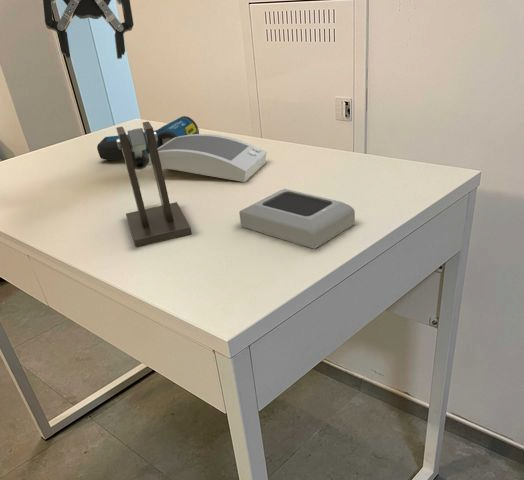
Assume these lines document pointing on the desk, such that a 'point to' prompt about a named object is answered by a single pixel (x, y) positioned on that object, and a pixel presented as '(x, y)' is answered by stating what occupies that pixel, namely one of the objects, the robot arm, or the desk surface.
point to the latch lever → (138, 148)
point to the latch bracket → (168, 214)
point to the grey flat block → (298, 217)
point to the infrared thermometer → (166, 133)
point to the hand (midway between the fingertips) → (94, 57)
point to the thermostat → (212, 156)
